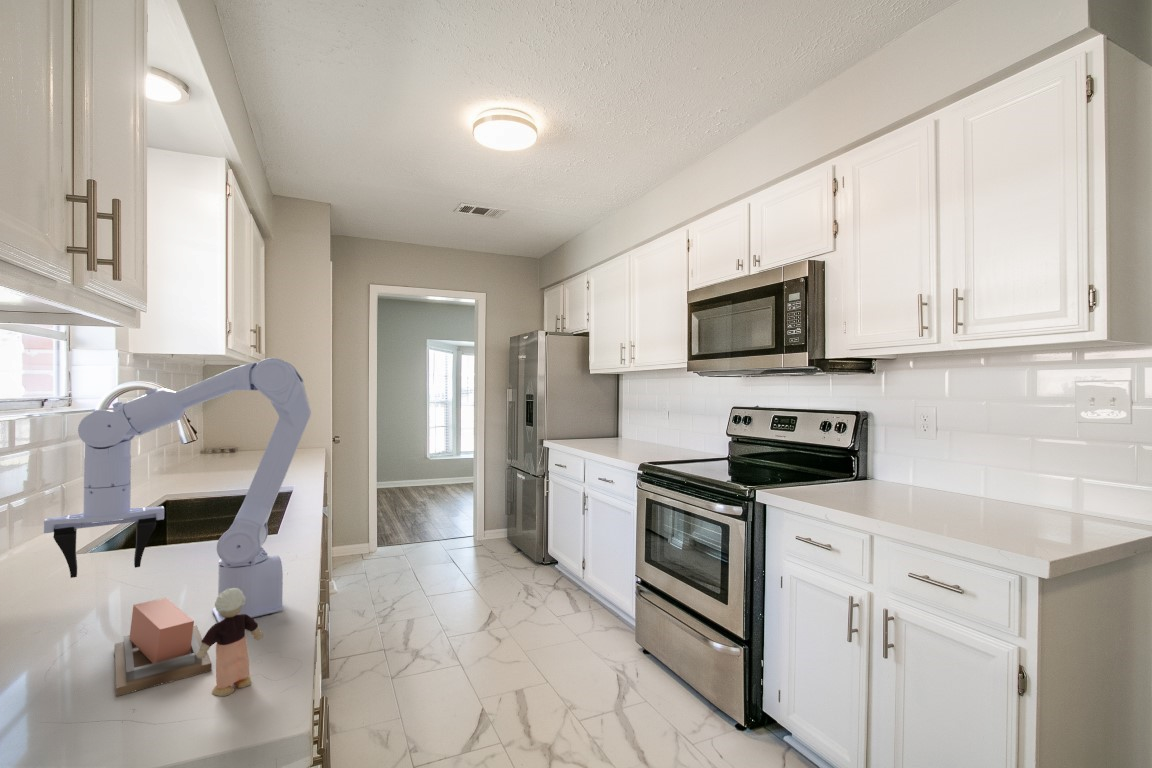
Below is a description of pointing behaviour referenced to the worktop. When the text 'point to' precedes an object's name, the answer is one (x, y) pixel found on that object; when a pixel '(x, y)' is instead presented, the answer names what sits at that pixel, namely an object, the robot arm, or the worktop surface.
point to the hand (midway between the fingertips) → (106, 570)
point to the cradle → (155, 666)
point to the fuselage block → (161, 630)
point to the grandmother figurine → (230, 642)
